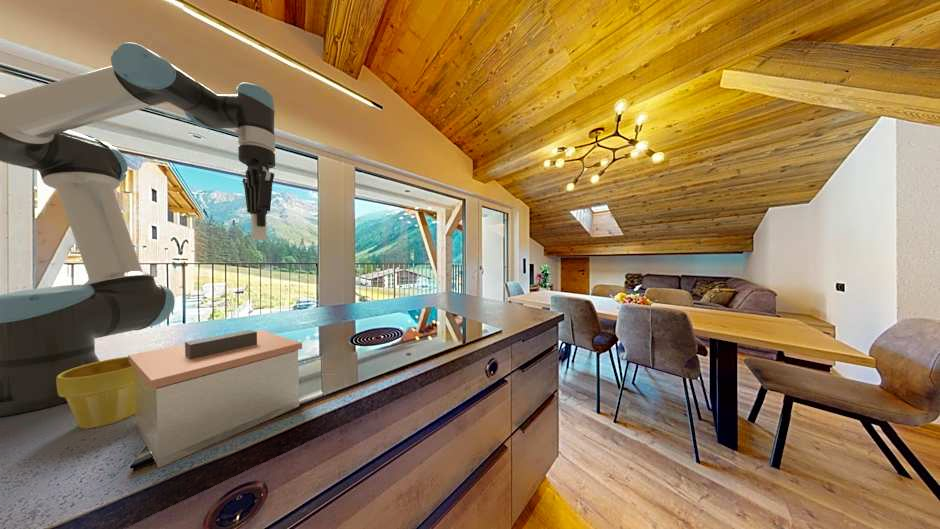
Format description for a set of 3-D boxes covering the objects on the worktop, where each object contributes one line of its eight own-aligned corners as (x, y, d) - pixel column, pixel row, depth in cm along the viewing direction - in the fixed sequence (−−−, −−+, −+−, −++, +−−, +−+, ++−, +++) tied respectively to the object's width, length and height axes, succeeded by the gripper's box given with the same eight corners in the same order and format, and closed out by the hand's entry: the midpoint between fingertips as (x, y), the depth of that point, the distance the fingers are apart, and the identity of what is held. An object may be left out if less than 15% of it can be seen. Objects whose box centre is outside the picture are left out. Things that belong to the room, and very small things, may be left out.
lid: (128, 361, 46) (128, 341, 46) (260, 335, 62) (260, 319, 62) (151, 389, 36) (150, 362, 36) (302, 348, 52) (301, 330, 52)
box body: (135, 426, 46) (133, 363, 46) (260, 384, 61) (259, 337, 61) (158, 468, 36) (156, 389, 36) (299, 406, 52) (298, 350, 52)
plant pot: (83, 440, 42) (81, 380, 42) (41, 432, 44) (39, 375, 44) (168, 405, 52) (167, 356, 52) (131, 400, 55) (129, 353, 54)
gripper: (229, 150, 69) (231, 239, 70) (249, 137, 62) (251, 237, 63) (263, 159, 76) (265, 241, 76) (285, 148, 69) (287, 239, 69)
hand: (259, 239), depth 69 cm, fingers closed
